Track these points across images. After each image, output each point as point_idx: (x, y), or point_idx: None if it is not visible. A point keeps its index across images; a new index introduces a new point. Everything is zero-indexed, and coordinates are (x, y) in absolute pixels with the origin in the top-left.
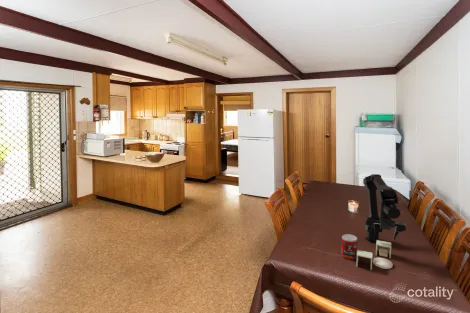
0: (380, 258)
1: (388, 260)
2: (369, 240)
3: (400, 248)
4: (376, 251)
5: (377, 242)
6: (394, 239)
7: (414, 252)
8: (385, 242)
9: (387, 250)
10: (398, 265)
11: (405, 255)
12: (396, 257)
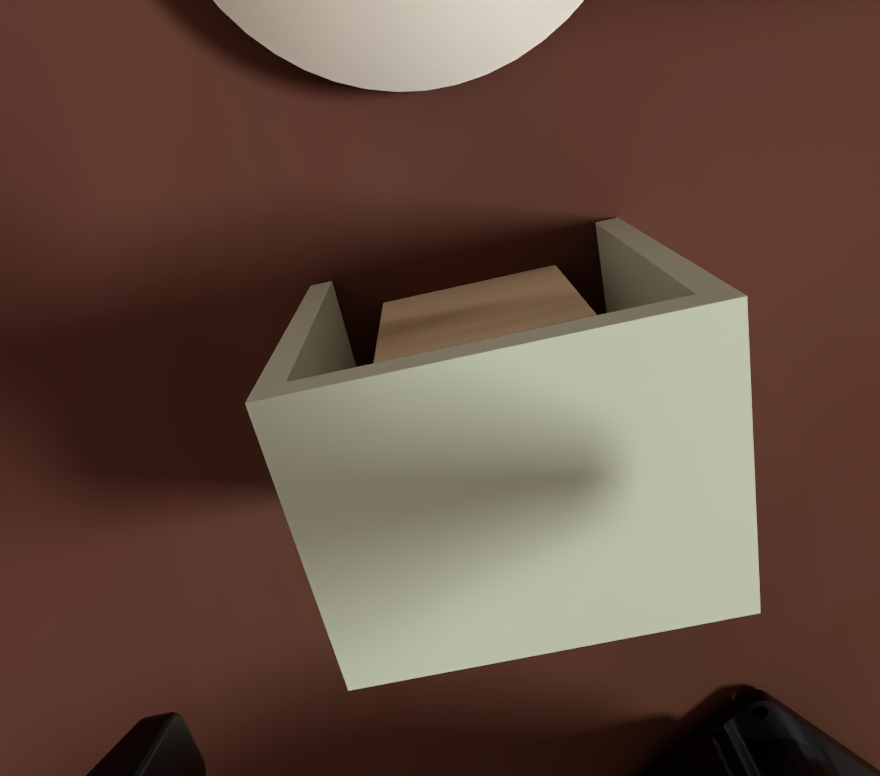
0: (490, 16)
1: (290, 36)
2: (801, 732)
3: (271, 764)
4: (641, 239)
5: (723, 469)
6: (111, 757)
7: (46, 760)
8: (489, 614)
9: (380, 359)
10: (63, 33)
11: (119, 582)
12: (224, 404)
